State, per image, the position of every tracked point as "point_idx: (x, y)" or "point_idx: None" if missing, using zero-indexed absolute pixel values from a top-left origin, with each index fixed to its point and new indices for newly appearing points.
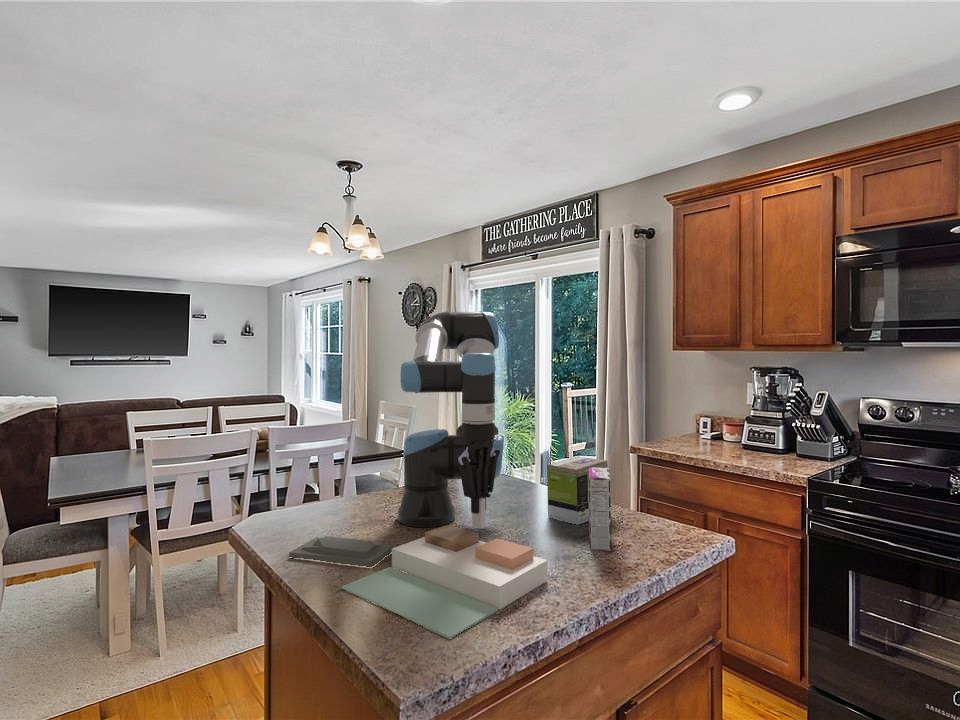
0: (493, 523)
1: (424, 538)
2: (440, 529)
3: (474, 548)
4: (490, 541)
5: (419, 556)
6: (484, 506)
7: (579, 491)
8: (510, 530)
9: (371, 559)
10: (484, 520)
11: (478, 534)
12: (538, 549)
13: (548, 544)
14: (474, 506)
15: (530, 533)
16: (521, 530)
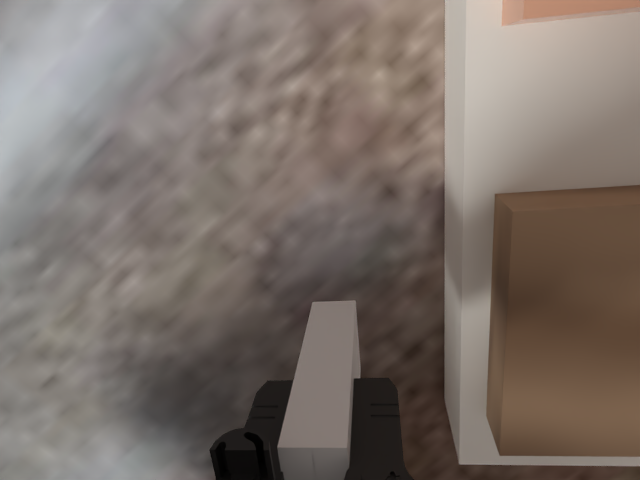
0: (67, 427)
1: None
2: (606, 430)
3: (602, 138)
4: (624, 3)
5: None
6: (305, 390)
7: None
8: (60, 323)
9: None
10: (319, 324)
11: (509, 209)
12: (117, 46)
13: (24, 55)
14: (400, 432)
15: (4, 230)
16: (16, 287)
